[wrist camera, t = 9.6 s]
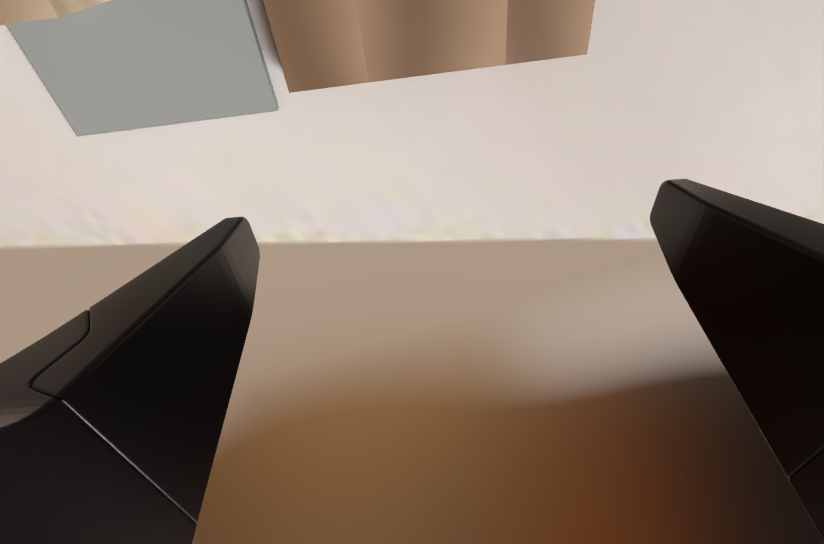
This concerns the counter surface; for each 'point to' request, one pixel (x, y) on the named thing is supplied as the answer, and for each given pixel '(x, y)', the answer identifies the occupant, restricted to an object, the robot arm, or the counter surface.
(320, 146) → the counter surface
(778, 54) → the counter surface
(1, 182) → the counter surface
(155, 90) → the mat
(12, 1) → the block
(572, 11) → the pocket board
